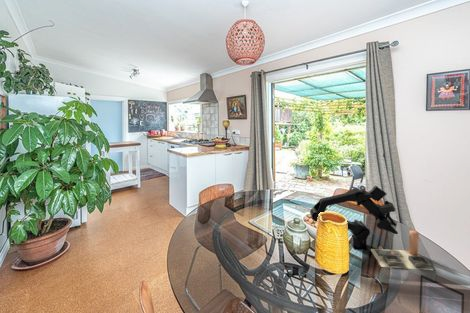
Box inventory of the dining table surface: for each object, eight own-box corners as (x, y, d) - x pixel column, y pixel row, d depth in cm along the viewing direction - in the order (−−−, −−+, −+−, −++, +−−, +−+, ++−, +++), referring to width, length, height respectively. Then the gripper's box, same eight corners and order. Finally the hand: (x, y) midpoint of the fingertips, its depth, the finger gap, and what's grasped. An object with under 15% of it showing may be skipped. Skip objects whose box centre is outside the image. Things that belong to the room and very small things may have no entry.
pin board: (381, 268, 100) (381, 262, 99) (369, 250, 114) (369, 245, 113) (433, 272, 94) (434, 266, 94) (415, 253, 108) (415, 247, 108)
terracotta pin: (411, 255, 105) (411, 233, 103) (407, 251, 108) (408, 230, 107) (419, 256, 104) (420, 234, 102) (415, 251, 108) (416, 230, 106)
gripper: (384, 204, 102) (413, 229, 97) (383, 192, 117) (408, 213, 112) (366, 216, 107) (392, 241, 103) (367, 203, 122) (390, 224, 118)
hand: (396, 229), depth 109 cm, fingers open, 9 cm apart
